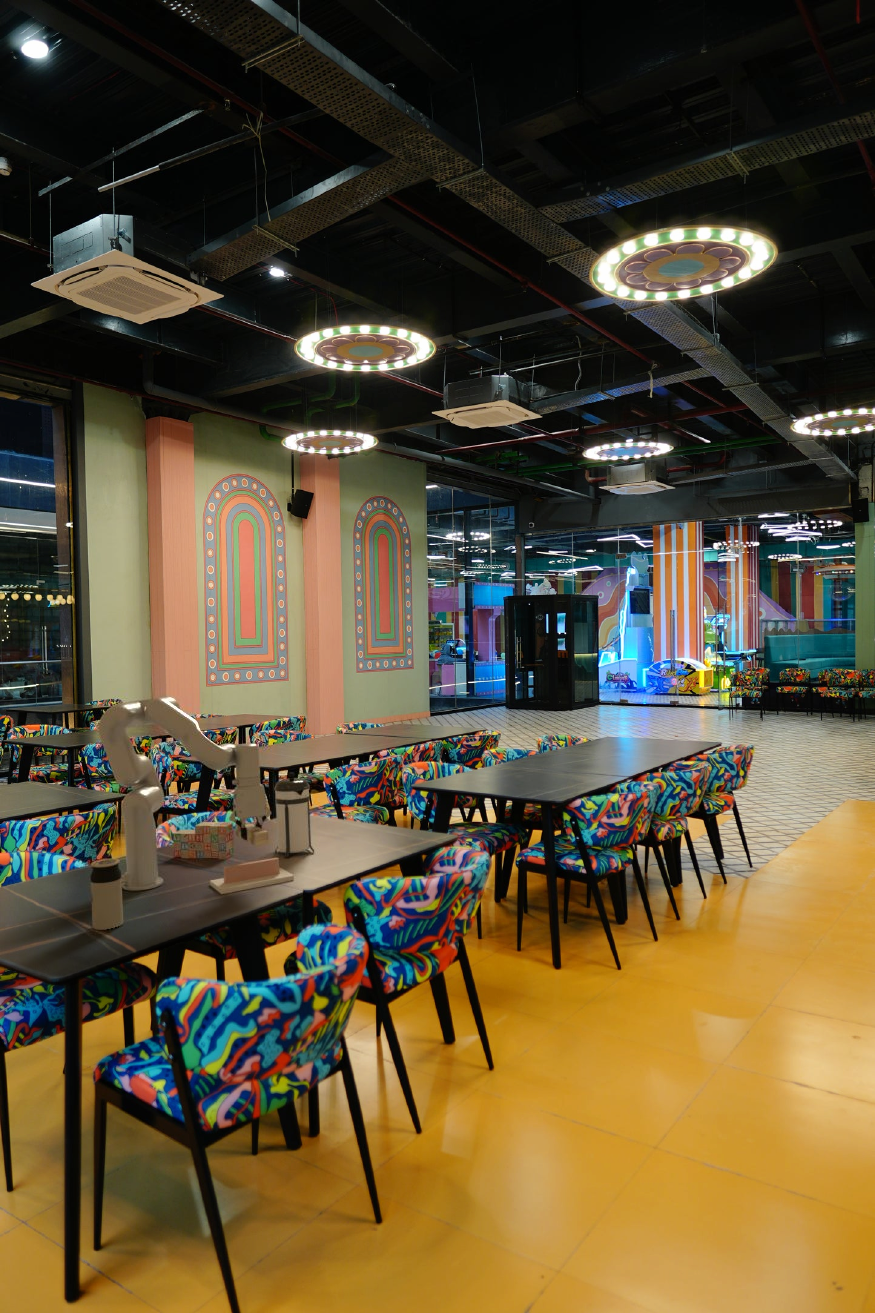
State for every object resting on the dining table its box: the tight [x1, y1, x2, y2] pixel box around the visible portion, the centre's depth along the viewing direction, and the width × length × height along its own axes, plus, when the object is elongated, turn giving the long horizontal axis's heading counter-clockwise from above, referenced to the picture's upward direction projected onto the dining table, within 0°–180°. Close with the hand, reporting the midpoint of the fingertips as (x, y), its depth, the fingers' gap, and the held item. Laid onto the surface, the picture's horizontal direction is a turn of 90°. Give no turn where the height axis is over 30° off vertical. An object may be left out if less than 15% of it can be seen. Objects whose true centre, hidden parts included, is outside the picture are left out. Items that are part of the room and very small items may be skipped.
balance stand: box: [209, 857, 295, 895], centre depth 270 cm, size 24×12×6 cm, turn 122°
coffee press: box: [273, 772, 315, 859], centre depth 307 cm, size 17×16×30 cm
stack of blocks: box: [172, 821, 235, 860], centre depth 306 cm, size 21×6×12 cm, turn 77°
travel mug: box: [89, 858, 124, 931], centre depth 233 cm, size 8×8×18 cm
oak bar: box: [234, 821, 269, 847], centre depth 270 cm, size 20×4×4 cm, turn 32°
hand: (251, 837), depth 270 cm, fingers closed on oak bar, 4 cm apart
